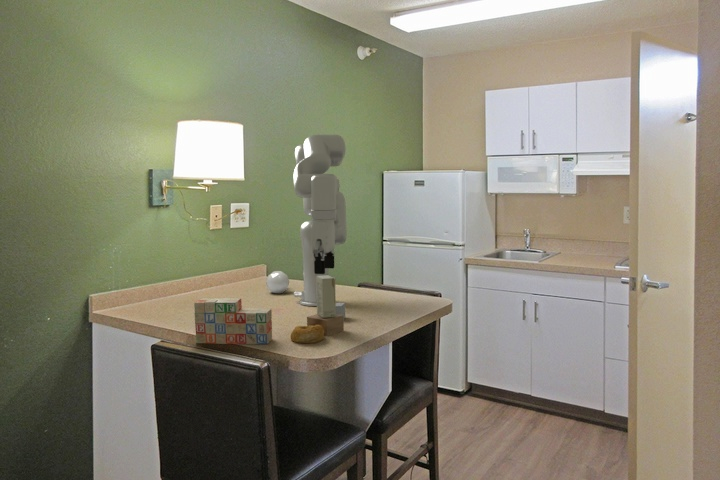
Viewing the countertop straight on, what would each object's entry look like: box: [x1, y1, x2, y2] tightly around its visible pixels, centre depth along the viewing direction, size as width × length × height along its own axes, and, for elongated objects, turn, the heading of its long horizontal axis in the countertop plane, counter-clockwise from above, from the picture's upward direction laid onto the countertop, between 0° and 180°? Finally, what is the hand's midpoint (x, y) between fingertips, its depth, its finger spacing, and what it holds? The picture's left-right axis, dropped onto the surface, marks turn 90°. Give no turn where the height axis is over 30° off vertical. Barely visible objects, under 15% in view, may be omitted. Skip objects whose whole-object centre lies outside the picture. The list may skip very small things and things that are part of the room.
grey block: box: [336, 302, 346, 320], centre depth 198 cm, size 5×5×5 cm
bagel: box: [290, 325, 325, 344], centre depth 173 cm, size 10×11×5 cm
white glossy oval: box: [265, 270, 290, 294], centre depth 247 cm, size 9×10×15 cm
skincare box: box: [316, 274, 337, 318], centre depth 182 cm, size 6×4×12 cm
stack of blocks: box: [193, 297, 273, 345], centre depth 172 cm, size 21×6×12 cm, turn 84°
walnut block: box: [306, 313, 345, 337], centre depth 182 cm, size 8×8×5 cm
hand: (324, 270), depth 181 cm, fingers open, 9 cm apart
